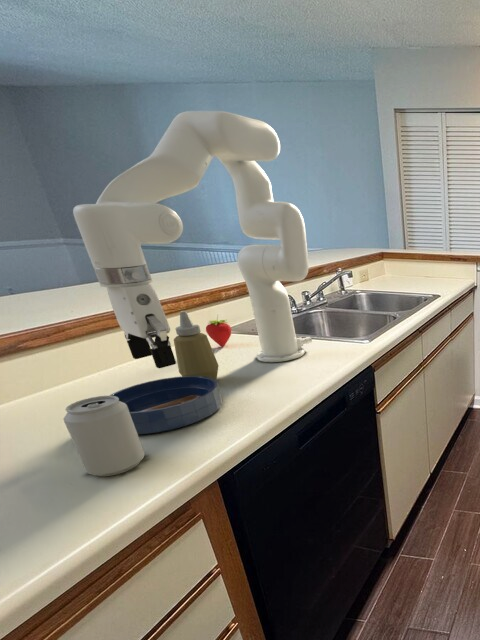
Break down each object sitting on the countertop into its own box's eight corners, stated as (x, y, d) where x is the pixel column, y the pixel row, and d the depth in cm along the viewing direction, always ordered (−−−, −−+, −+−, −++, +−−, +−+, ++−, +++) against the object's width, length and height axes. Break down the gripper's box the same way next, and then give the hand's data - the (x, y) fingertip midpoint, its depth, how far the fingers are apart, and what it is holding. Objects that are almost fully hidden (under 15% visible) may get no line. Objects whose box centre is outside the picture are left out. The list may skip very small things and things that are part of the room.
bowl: (195, 389, 101) (189, 370, 100) (241, 407, 93) (235, 387, 91) (91, 421, 86) (82, 398, 84) (135, 446, 77) (125, 422, 75)
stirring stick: (198, 401, 95) (194, 392, 94) (204, 401, 93) (201, 393, 93) (124, 425, 84) (119, 415, 84) (130, 426, 83) (126, 416, 82)
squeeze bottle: (185, 391, 100) (162, 317, 94) (181, 381, 106) (159, 310, 99) (224, 383, 105) (206, 312, 99) (219, 374, 111) (201, 306, 104)
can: (143, 449, 76) (121, 389, 72) (149, 466, 71) (125, 402, 67) (86, 465, 71) (59, 401, 67) (88, 485, 66) (58, 417, 62)
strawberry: (221, 342, 137) (213, 312, 133) (240, 344, 135) (233, 314, 131) (205, 347, 132) (196, 316, 128) (224, 350, 130) (216, 318, 126)
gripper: (170, 277, 78) (197, 363, 85) (127, 269, 85) (155, 348, 92) (120, 283, 72) (153, 376, 79) (79, 274, 79) (112, 359, 86)
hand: (154, 361), depth 85 cm, fingers open, 9 cm apart
